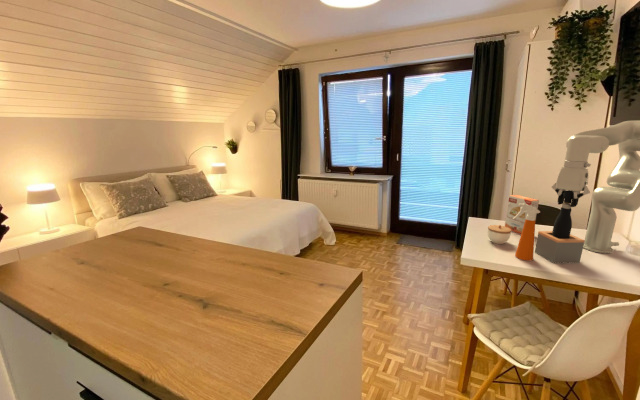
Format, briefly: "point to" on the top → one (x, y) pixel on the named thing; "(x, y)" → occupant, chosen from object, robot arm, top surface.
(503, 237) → the lidded jar
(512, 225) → the cracker box
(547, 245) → the sleeve
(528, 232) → the spray bottle
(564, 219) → the black water bottle
